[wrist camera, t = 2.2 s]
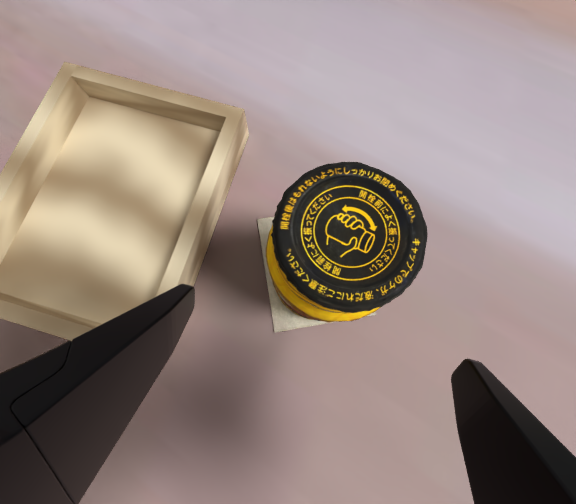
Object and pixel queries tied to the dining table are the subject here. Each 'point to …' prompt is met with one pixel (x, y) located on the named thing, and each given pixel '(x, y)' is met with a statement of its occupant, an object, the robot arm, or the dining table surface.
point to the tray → (110, 198)
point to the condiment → (340, 245)
